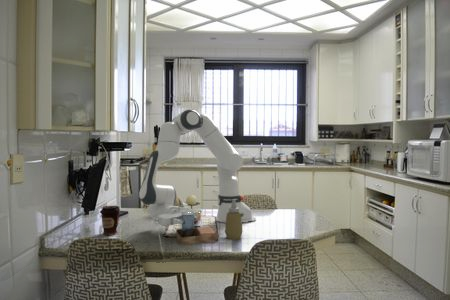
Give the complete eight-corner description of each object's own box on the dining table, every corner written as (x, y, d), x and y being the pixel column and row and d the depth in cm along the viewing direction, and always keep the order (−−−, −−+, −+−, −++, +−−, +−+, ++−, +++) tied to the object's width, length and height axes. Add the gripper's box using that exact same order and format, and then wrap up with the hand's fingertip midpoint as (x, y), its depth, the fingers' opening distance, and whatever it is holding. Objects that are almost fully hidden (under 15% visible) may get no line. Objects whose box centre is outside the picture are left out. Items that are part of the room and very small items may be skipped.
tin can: (193, 236, 143) (193, 210, 142) (194, 240, 137) (195, 213, 137) (181, 237, 141) (181, 211, 141) (182, 241, 136) (182, 213, 135)
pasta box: (210, 233, 147) (210, 226, 147) (215, 240, 137) (215, 232, 137) (196, 234, 145) (196, 227, 145) (200, 241, 136) (200, 233, 136)
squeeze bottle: (224, 236, 145) (224, 198, 145) (241, 236, 146) (241, 198, 145) (225, 242, 137) (225, 201, 137) (243, 241, 138) (244, 201, 137)
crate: (212, 234, 149) (212, 227, 149) (218, 243, 136) (218, 235, 136) (176, 236, 144) (176, 229, 144) (179, 246, 132) (179, 237, 132)
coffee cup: (113, 236, 144) (113, 208, 143) (97, 235, 145) (96, 208, 145) (123, 231, 152) (123, 205, 152) (107, 230, 154) (107, 204, 153)
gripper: (152, 212, 141) (169, 217, 131) (187, 205, 155) (206, 210, 145) (152, 225, 141) (169, 232, 131) (187, 218, 155) (206, 223, 146)
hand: (189, 220), depth 138 cm, fingers open, 6 cm apart
